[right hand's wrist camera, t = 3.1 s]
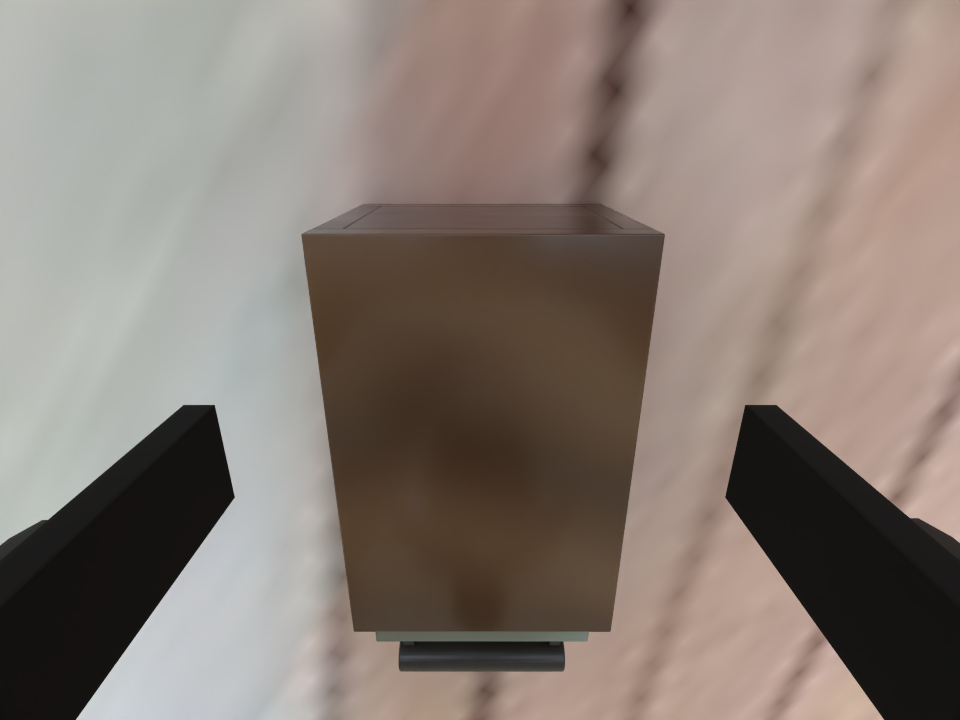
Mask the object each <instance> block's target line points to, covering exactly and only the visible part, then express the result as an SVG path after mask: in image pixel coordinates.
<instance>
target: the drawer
mask: <svg viewBox="0 0 960 720" xmlns="http://www.w3.org/2000/svg"><path fill="white" fill-rule="evenodd" d="M588 633H589V632H376V640H377V641H400V647H399V670H400V671H527V672H562V671H564V668H565V652H564V643H563V641H588Z"/></svg>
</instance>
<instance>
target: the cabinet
mask: <svg viewBox="0 0 960 720" xmlns="http://www.w3.org/2000/svg"><path fill="white" fill-rule="evenodd" d="M664 236H665V235H664V234H663V233H661V232H659V231H657V230H655V229H652V228H650V227H648V226H646V225H644V224H642V223H640V222H638V221H636V220H633V219H631V218H629V217H627V216H625V215H623V214H621V213H619V212H617V211H615V210H612V209H610V208H608V207H606V206H604V205H601V204H363V205H361V206H359V207H357V208H355V209H353V210H350V211H348V212H346V213H344V214H342V215H340V216H338V217H336V218H334V219H332V220H330V221H328V222H326V223H324V224H322V225H320V226H318V227H316V228H314V229H311V230H309V231H307V232H305V233H303V234H302V243H303V250H304V258H305V265H306V273H307V280H308V288H309V296H310V303H311V311H312V318H313V326H314V333H315V341H316V348H317V356H318V364H319V371H320V379H321V386H322V394H323V401H324V409H325V416H326V424H327V432H328V439H329V447H330V454H331V462H332V469H333V477H334V484H335V492H336V500H337V507H338V515H339V522H340V530H341V537H342V545H343V552H344V560H345V568H346V575H347V583H348V590H349V598H350V605H351V613H352V620H353V628H354V631H355V632H610V631H611V624H612V617H613V609H614V602H615V595H616V587H617V580H618V573H619V565H620V558H621V551H622V543H623V536H624V529H625V522H626V514H627V507H628V500H629V492H630V485H631V478H632V470H633V463H634V456H635V448H636V441H637V434H638V427H639V419H640V412H641V405H642V397H643V390H644V383H645V375H646V368H647V361H648V353H649V346H650V339H651V332H652V324H653V317H654V310H655V302H656V295H657V288H658V280H659V273H660V266H661V258H662V251H663V244H664Z"/></svg>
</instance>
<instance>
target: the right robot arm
mask: <svg viewBox="0 0 960 720" xmlns="http://www.w3.org/2000/svg"><path fill="white" fill-rule="evenodd" d="M234 498H235V497H234V492H233V487H232V483H231V478H230V474H229V469H228V464H227V460H226V455H225V451H224V446H223V441H222V437H221V432H220V428H219V423H218V418H217V414H216V409H215V405H183V406H182V407H181V408H180V409H179V410H177V411H176V412H175V413H174V414H173V415H171V416H170V417H169V418H168V419H167V420H166V421H164V422H163V423H162V424H161V425H160V426H158V427H157V428H156V429H155V430H154V431H153V432H151V433H150V434H149V435H148V436H147V437H145V438H144V439H143V440H142V441H141V442H140V443H138V444H137V445H136V446H135V447H134V448H132V449H131V450H130V451H129V452H128V453H127V454H125V455H124V456H123V457H122V458H121V459H120V460H118V461H117V462H116V463H115V464H114V465H112V466H111V467H110V468H109V469H108V470H107V471H105V472H104V473H103V474H102V475H101V476H99V477H98V478H97V479H96V480H95V481H94V482H92V483H91V484H90V485H89V486H88V487H86V488H85V489H84V490H83V491H82V492H81V493H79V494H78V495H77V496H76V497H75V498H73V499H72V500H71V501H70V502H69V503H68V504H66V505H65V506H64V507H63V508H62V509H61V510H59V511H58V512H57V513H56V514H55V515H53V516H52V517H51V518H50V519H49V520H42V521H40V522H38V523H36V524H35V525H33V526H31V527H29V528H27V529H26V530H24V531H22V532H20V533H18V534H17V535H15V536H13V537H11V538H9V539H8V540H7V541H5V542H4V543H3V544H2V545H1V546H0V720H76V719H77V717H78V716H79V714H80V713H81V712H82V710H83V709H84V707H85V706H86V705H87V703H88V702H89V700H90V699H91V698H92V696H93V695H94V693H95V692H96V691H97V689H98V688H99V686H100V685H101V684H102V682H103V681H104V679H105V678H106V677H107V675H108V674H109V672H110V671H111V670H112V668H113V667H114V665H115V664H116V663H117V661H118V660H119V658H120V657H121V656H122V654H123V653H124V651H125V650H126V649H127V647H128V646H129V644H130V643H131V642H132V640H133V639H134V637H135V636H136V635H137V633H138V632H139V630H140V629H141V628H142V626H143V625H144V623H145V622H146V621H147V619H148V618H149V616H150V615H151V614H152V612H153V611H154V609H155V608H156V607H157V605H158V604H159V602H160V601H161V600H162V598H163V597H164V595H165V594H166V593H167V591H168V590H169V588H170V587H171V586H172V584H173V583H174V582H175V580H176V579H177V577H178V576H179V575H180V573H181V572H182V570H183V569H184V568H185V566H186V565H187V563H188V562H189V561H190V559H191V558H192V556H193V555H194V554H195V552H196V551H197V549H198V548H199V547H200V545H201V544H202V542H203V541H204V540H205V538H206V537H207V535H208V534H209V533H210V531H211V530H212V528H213V527H214V526H215V524H216V523H217V521H218V520H219V519H220V517H221V516H222V514H223V513H224V512H225V510H226V509H227V507H228V506H229V505H230V503H231V502H232V500H233V499H234ZM725 498H726V499H727V500H728V502H729V503H730V505H731V506H732V507H733V509H734V510H735V512H736V513H737V514H738V516H739V517H740V519H741V520H742V521H743V523H744V524H745V526H746V527H747V528H748V530H749V531H750V533H751V534H752V535H753V537H754V538H755V540H756V541H757V542H758V544H759V545H760V547H761V548H762V549H763V551H764V552H765V554H766V555H767V556H768V558H769V559H770V561H771V562H772V563H773V565H774V566H775V568H776V569H777V570H778V572H779V573H780V575H781V576H782V577H783V579H784V580H785V582H786V583H787V584H788V586H789V587H790V588H791V590H792V591H793V593H794V594H795V595H796V597H797V598H798V600H799V601H800V602H801V604H802V605H803V607H804V608H805V609H806V611H807V612H808V614H809V615H810V616H811V618H812V619H813V621H814V622H815V623H816V625H817V626H818V628H819V629H820V630H821V632H822V633H823V635H824V636H825V637H826V639H827V640H828V642H829V643H830V644H831V646H832V647H833V649H834V650H835V651H836V653H837V654H838V656H839V657H840V658H841V660H842V661H843V663H844V664H845V665H846V667H847V668H848V670H849V671H850V672H851V674H852V675H853V677H854V678H855V679H856V681H857V682H858V684H859V685H860V686H861V688H862V689H863V691H864V692H865V693H866V695H867V696H868V698H869V699H870V700H871V702H872V703H873V705H874V706H875V707H876V709H877V710H878V712H879V713H880V714H881V716H882V717H883V719H884V720H960V543H959V542H958V541H956V540H955V539H954V538H953V537H951V536H949V535H947V534H946V533H944V532H942V531H940V530H938V529H937V528H935V527H933V526H931V525H929V524H928V523H926V522H924V521H922V520H920V519H919V518H909V517H908V516H907V515H905V514H904V513H903V512H902V511H901V510H899V509H898V508H897V507H896V506H895V505H894V504H892V503H891V502H890V501H889V500H888V499H887V498H885V497H884V496H883V495H882V494H881V493H879V492H878V491H877V490H876V489H875V488H874V487H872V486H871V485H870V484H869V483H868V482H866V481H865V480H864V479H863V478H862V477H861V476H859V475H858V474H857V473H856V472H855V471H853V470H852V469H851V468H850V467H849V466H848V465H846V464H845V463H844V462H843V461H842V460H840V459H839V458H838V457H837V456H836V455H835V454H833V453H832V452H831V451H830V450H829V449H827V448H826V447H825V446H824V445H823V444H822V443H820V442H819V441H818V440H817V439H816V438H815V437H813V436H812V435H811V434H810V433H809V432H807V431H806V430H805V429H804V428H803V427H802V426H800V425H799V424H798V423H797V422H796V421H794V420H793V419H792V418H791V417H790V416H789V415H787V414H786V413H785V412H784V411H783V410H781V409H780V408H779V407H778V406H777V405H745V409H744V414H743V418H742V423H741V428H740V432H739V437H738V441H737V446H736V451H735V455H734V460H733V464H732V469H731V474H730V478H729V483H728V487H727V492H726V497H725Z"/></svg>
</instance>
